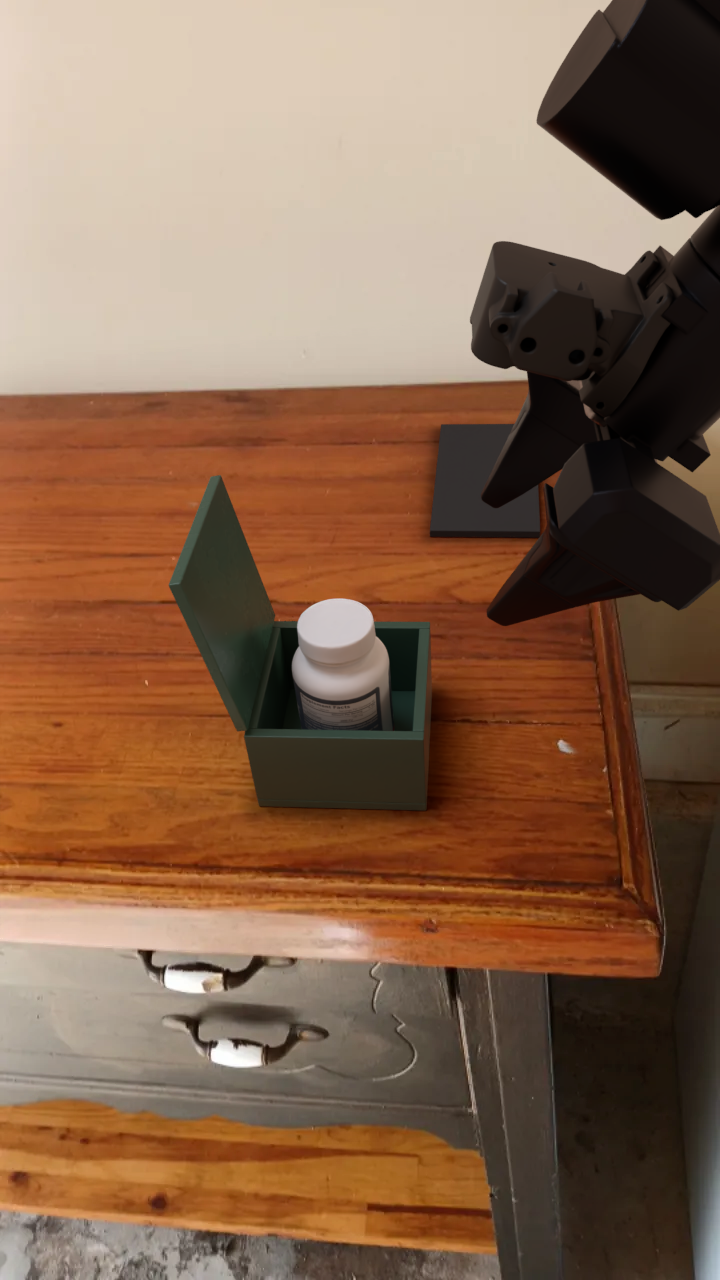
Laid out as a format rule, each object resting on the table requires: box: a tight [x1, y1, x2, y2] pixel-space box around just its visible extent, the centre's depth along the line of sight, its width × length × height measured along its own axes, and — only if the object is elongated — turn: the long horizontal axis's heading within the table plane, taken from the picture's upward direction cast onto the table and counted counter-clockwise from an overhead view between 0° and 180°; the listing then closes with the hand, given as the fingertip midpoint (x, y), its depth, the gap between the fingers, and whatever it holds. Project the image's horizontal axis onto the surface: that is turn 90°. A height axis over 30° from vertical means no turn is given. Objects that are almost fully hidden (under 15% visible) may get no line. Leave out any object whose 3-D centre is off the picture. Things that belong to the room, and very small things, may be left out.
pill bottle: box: [292, 597, 394, 731], centre depth 52 cm, size 5×5×9 cm
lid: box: [168, 474, 276, 732], centre depth 49 cm, size 10×9×1 cm
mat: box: [429, 423, 541, 539], centre depth 76 cm, size 16×8×1 cm, turn 173°
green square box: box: [243, 620, 433, 812], centre depth 54 cm, size 9×9×6 cm
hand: (490, 556), depth 46 cm, fingers open, 9 cm apart
